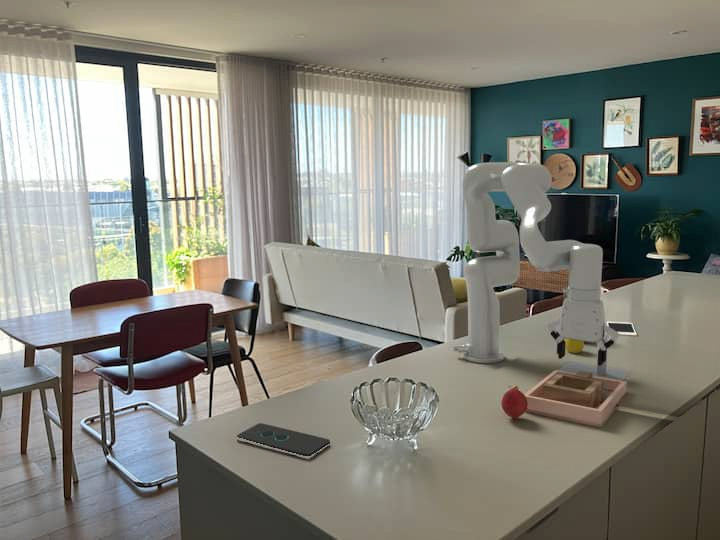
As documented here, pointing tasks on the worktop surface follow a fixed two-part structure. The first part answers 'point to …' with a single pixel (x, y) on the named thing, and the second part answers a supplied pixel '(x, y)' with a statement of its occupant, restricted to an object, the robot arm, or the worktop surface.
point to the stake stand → (597, 368)
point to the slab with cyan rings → (284, 439)
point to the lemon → (574, 345)
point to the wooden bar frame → (575, 389)
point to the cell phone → (623, 328)
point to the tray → (571, 410)
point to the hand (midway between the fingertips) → (580, 360)
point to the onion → (514, 403)
